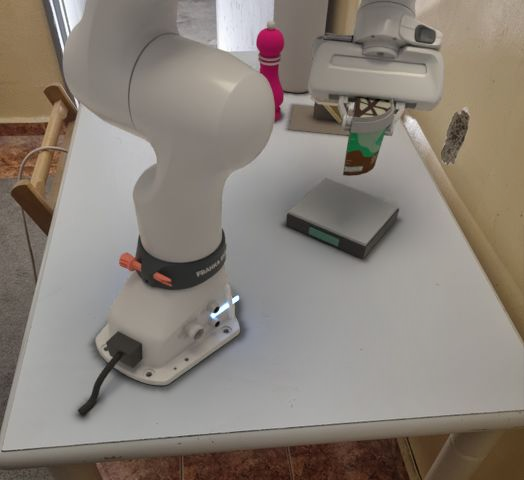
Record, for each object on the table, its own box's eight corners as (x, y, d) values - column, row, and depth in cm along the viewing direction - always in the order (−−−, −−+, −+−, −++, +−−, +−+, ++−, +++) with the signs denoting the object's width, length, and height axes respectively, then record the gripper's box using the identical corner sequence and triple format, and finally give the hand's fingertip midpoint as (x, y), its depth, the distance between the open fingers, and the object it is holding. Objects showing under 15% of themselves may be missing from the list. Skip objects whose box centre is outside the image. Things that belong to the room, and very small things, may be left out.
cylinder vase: (267, 72, 137) (272, -42, 118) (314, 72, 138) (326, -42, 119) (273, 94, 129) (279, -25, 110) (322, 93, 130) (337, -25, 111)
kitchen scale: (362, 260, 90) (365, 245, 88) (285, 226, 96) (286, 212, 93) (396, 220, 98) (400, 205, 96) (323, 190, 103) (325, 176, 101)
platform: (367, 137, 117) (373, 108, 112) (289, 129, 118) (291, 100, 113) (367, 112, 125) (373, 84, 120) (293, 105, 126) (296, 77, 121)
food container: (381, 185, 81) (396, 124, 73) (341, 180, 81) (352, 118, 73) (383, 144, 88) (398, 84, 80) (348, 139, 89) (358, 79, 81)
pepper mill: (259, 125, 119) (262, 28, 104) (247, 111, 123) (248, 16, 108) (287, 120, 121) (294, 24, 106) (274, 106, 125) (279, 12, 110)
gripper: (314, 20, 76) (299, 117, 78) (454, 34, 75) (437, 133, 76) (314, 42, 83) (301, 131, 84) (443, 55, 81) (428, 146, 82)
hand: (366, 132), depth 80 cm, fingers closed on food container, 5 cm apart
